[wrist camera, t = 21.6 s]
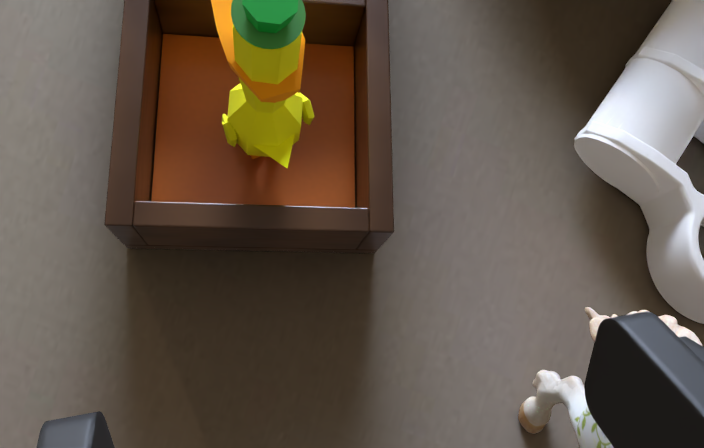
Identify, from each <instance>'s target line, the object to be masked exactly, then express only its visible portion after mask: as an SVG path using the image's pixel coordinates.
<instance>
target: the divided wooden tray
mask: <svg viewBox="0 0 704 448" xmlns="http://www.w3.org/2000/svg"><path fill="white" fill-rule="evenodd" d="M302 2H303V4H304V7H305V12H306V15H305V24H304V27H303V30H302V33H303V35H304V38H305V49H304V59H303V69H302V78H301V88H300V91H299V92H298V93H301V94H303V95H304V96H305V97H306V98H308V99H309V100H310V101H311V105H312V109H313V112H314V118H313V120H312V122H311V124H310V125H308V124H306V123H305V122H304V121H303V118H302V120H301V130H300V135H299V140H298V141H297V142H296V143H295V144H293V145H292V150H291V154H290V159H289V163H288V168H286V167H284V166H283V165H281V164H280V163H278V162H277V161H275V160H274V159H272V158H271V157H265V156H261V157H258V158H255V159H252V158H251V156H250V155H247V153H246V152H245V151H244V150H243V149H242V148H241V147H240V146H239V145H238V144H236V146H235V147H233V146H231V145H230V144H228V143H227V139H226V136H225V132H224V128H223V125H222V115H223V114H226V115H227V116H228V105H229V94H230V90H232V89H233V88H234V87H236V86H237V85H238V84H240V80H239V77H238V76H237V75H236V74H235V72H234V71H233V70H232V69H231V67H230V65H229V63H228V61H227V58H226V55H225V52H224V49H223V46H222V43H221V41H220V38H219V35H218V32H217V28H216V23H215V18H214V13H213V8H212V3H211V0H124V11H123V22H122V33H121V45H120V56H119V67H118V79H117V90H116V101H115V113H114V124H113V135H112V147H111V158H110V169H109V180H108V192H107V203H106V214H105V226H106V227H107V228H108V229H109V230H110V231H111V232H112V233H113V234H114V235H115V236H116V237H117V238H118V239H119V240H120V241H121V242H122V243H123V244H124V245H125V246H126V247H127V248H138V249H187V250H236V251H284V252H333V253H375V252H376V251H377V250H378V249H379V248H380V247H381V245H382V244H383V243H384V242H385V241H386V240H387V239H388V238H389V237H390V236H391V234H392V233H393V232H394V214H393V174H392V134H391V94H390V54H389V14H388V0H302Z"/></svg>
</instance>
